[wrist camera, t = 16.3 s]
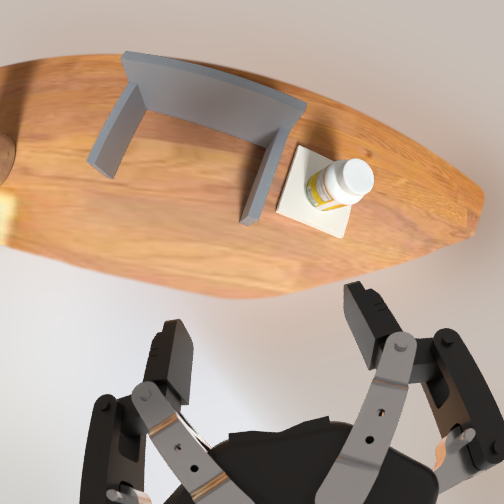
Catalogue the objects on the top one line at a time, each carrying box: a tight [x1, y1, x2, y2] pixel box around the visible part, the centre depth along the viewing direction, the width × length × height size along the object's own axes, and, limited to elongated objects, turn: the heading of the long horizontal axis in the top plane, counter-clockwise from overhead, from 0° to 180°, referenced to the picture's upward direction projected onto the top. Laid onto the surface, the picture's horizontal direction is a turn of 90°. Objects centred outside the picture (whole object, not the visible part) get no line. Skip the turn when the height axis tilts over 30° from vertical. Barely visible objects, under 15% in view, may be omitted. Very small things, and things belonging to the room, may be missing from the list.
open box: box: [86, 51, 307, 226], centre depth 28 cm, size 20×12×12 cm, turn 71°
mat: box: [276, 145, 352, 238], centre depth 36 cm, size 10×10×1 cm
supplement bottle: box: [305, 158, 374, 211], centre depth 31 cm, size 5×5×10 cm
